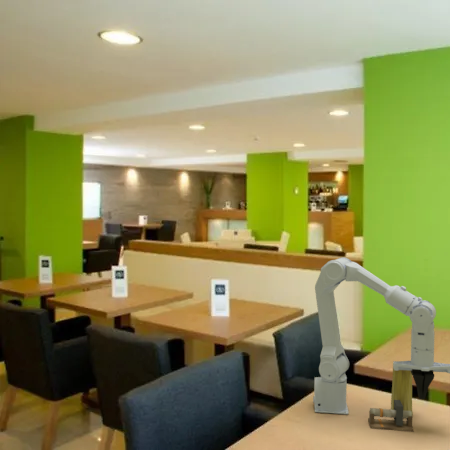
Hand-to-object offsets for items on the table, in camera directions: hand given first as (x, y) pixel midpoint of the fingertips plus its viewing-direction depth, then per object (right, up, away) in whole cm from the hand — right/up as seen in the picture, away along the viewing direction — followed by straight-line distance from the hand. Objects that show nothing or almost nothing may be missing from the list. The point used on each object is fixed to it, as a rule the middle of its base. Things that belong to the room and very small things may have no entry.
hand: (421, 397), depth 133 cm
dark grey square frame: (-6, -7, +1) cm, 9 cm away
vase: (-2, -8, +10) cm, 13 cm away
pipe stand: (-8, -8, +2) cm, 11 cm away
